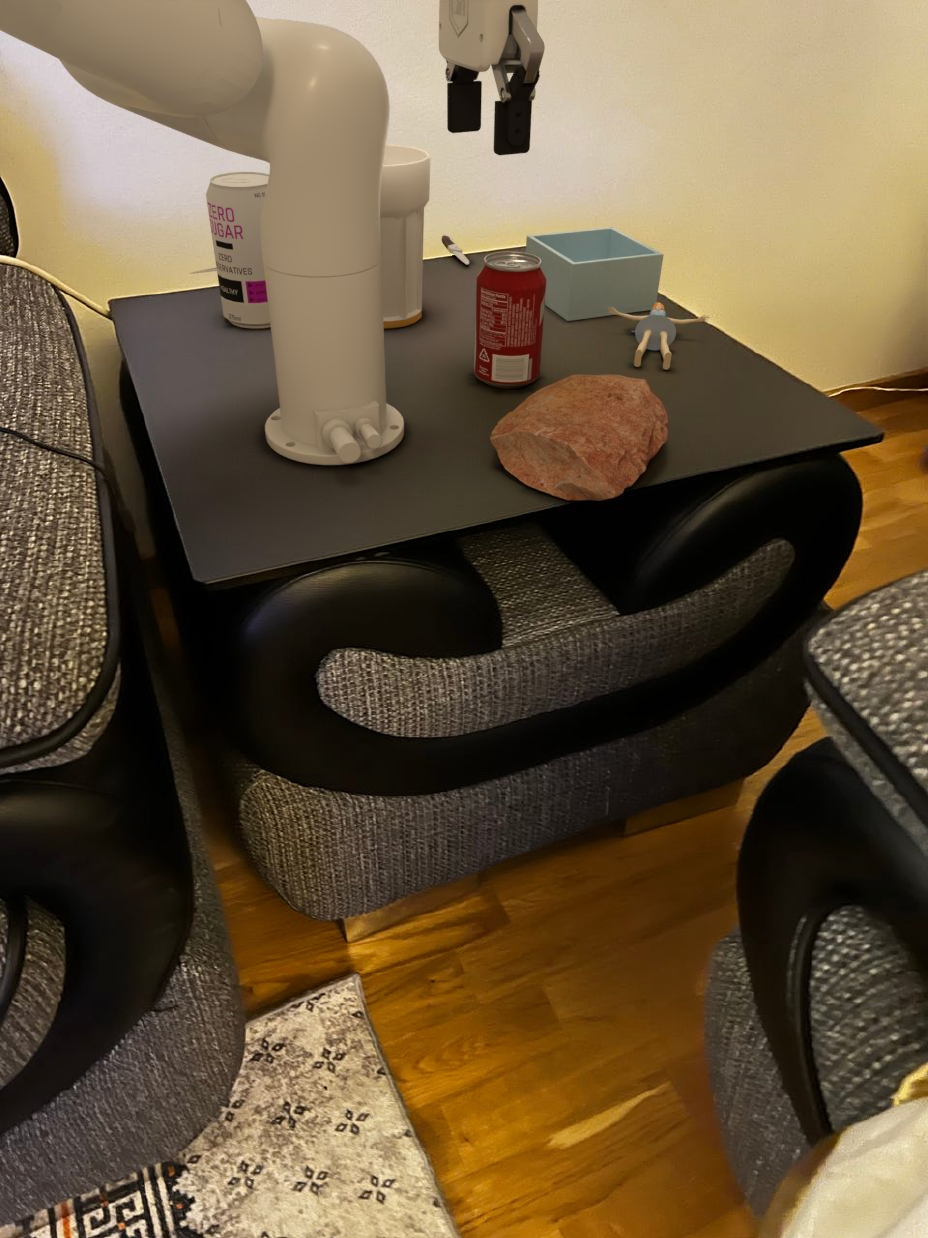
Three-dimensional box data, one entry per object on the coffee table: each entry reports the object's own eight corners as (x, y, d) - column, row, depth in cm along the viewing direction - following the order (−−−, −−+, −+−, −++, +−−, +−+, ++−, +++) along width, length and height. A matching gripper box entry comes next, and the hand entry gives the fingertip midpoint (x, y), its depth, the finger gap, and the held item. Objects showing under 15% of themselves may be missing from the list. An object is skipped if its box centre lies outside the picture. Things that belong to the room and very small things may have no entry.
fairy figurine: (601, 332, 95) (610, 283, 103) (596, 374, 98) (605, 323, 106) (712, 342, 93) (712, 292, 102) (704, 384, 96) (705, 331, 105)
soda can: (534, 395, 90) (543, 273, 83) (468, 389, 91) (471, 267, 84) (542, 369, 96) (551, 251, 88) (479, 363, 97) (483, 246, 89)
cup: (329, 302, 111) (318, 144, 100) (419, 296, 113) (417, 141, 102) (344, 335, 102) (333, 167, 91) (441, 328, 105) (442, 163, 94)
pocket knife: (449, 240, 133) (436, 238, 132) (451, 234, 132) (438, 232, 132) (473, 269, 123) (459, 266, 122) (474, 262, 122) (460, 260, 121)
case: (655, 309, 111) (663, 253, 107) (567, 321, 107) (572, 263, 103) (606, 279, 120) (612, 226, 116) (523, 289, 116) (526, 235, 112)
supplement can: (301, 307, 109) (289, 171, 100) (284, 332, 103) (269, 189, 93) (236, 303, 110) (217, 168, 100) (214, 328, 103) (192, 186, 94)
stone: (558, 411, 92) (464, 485, 77) (560, 353, 89) (462, 419, 74) (694, 432, 86) (621, 516, 71) (701, 371, 83) (626, 446, 68)
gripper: (405, -106, 75) (411, 126, 85) (497, -104, 62) (491, 166, 73) (487, -105, 77) (483, 121, 88) (591, -103, 65) (571, 158, 76)
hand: (486, 141), depth 81 cm, fingers open, 9 cm apart
